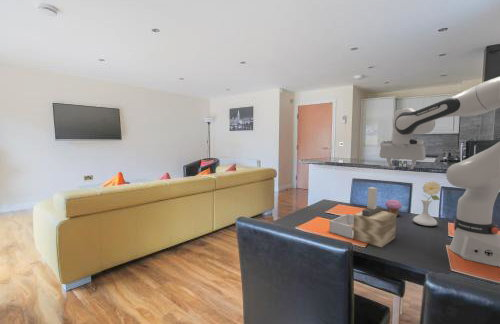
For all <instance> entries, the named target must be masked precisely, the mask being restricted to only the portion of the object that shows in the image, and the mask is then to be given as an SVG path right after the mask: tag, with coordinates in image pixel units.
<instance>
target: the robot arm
mask: <svg viewBox="0 0 500 324" xmlns="http://www.w3.org/2000/svg"><path fill="white" fill-rule="evenodd" d="M497 109H500V76H497V77H494V78H491V79H488V80H486V81H483V82H481V83H479V84H476V85H474V86H472V87H470V88H468V89H466V90H464V91H461V92H459V93H457V94H454V95H453V96H450V97H448V98H446V99H444V100H441V101H438V102H435V103H433V104H431V105H428V106H425V107H423V108H420V109H418V110H415V109H414V108H413V107H410V106H409V107H401V108H399V109H397V110H396V111H395V113H394V114H393V115H394V116H393V122H392V127H393V133H392V137H391V139H392V140H383V141H381V143H380V145H379V146H380V147H379V148H380V150H379V158H380V159H386V162H387V163H388V168H393V167H394V164H393V163H392V162H391V161H392V160H406V161H407V160H409V161H411V162H412V163H411V165H410V164H408V169H409V170H414V166H415V165H416V163H417V161H424V160H425V159H426V156H427V155H426V154H427V153H426V147H425V145H424V144H425V143H424V142H425V141H424V140H423V139H419V138H417V137H414V136H413V135H426V134H428V133H431V132H432V131H433V130H434V129H435V126H436V120H439V119H443V118H449V117H474V116H477V115H478V116H479V115H484V114H486V113H489V112H491V111H492V112H493V111H495V110H497ZM445 173H446V174H445V176H446V180H447V182H448V183H449V184H451V186H453V187H456V188H460V189H461V188H462V189H465V191H464V192H463V194H462V195H461V196H460V197H459V198H458V200H457V207H456V217H454V223H453V228H454V233H453V237H452V240H451V243H450V245H449V247H448V248H449V250H450V251H451V252H452V253H454V254H456V255H458V256H460V257H461V258H462V259H464V260H467V261H471V262H477V263H480V264H484V265H489V266H493V267H497V266H498V267H499V268H500V234H499V233H498V232H499V231H500V230H499V225H498V224H494V223H493V222H492V221H493V212H494V205H495V202H496V200H497V197H498V195H499V194H500V141H498V142H497V143H495V144H494V145H492V146H490V147H488V148H486V149H484V150H482V151H479V152H478V153H476V154H473V155H472V156H470V157H468V158H466V159H464V160H462V161H460V162H456V163H453V164H452V165H450V166H449V167H447V169H446V172H445Z"/></svg>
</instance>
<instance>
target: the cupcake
mask: <svg viewBox="0 0 500 324" xmlns="http://www.w3.org/2000/svg"><path fill="white" fill-rule="evenodd" d="M385 207H387V212H389V213H394V214H396V217H398V216H399V211H400V209H401V208H402V203H401V202H400V200H398V199H389V200H387V201H386V202H385Z"/></svg>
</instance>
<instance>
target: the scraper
mask: <svg viewBox="0 0 500 324" xmlns="http://www.w3.org/2000/svg"><path fill="white" fill-rule="evenodd" d="M377 199H378V187H375V186H371V187H367V203H366V204H367V208H363V209H362V215H363V216H368V217H369V216H371V215H374V214H376V213H378V212H380V211H381V206H379V205H378V204H377V201H378V200H377Z"/></svg>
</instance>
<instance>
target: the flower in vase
mask: <svg viewBox="0 0 500 324" xmlns="http://www.w3.org/2000/svg"><path fill="white" fill-rule="evenodd" d="M441 189H442V188H441V184H439V183H438V182H436V181H434V180H433V181H428V182H425V183H424V184H423V185H422V191H423V193H425V194H423V193H421V195H422V196H423V197H426V198H427V199H426V198H425V199H424V198H422V199H420V201H421V203H422V206H423V209H422V212H421V213H420V214H418V215H415V216H414V217H412V221H413V222H414V223H415V224H418V225H421V226H426V227H428V226H429V227H433V226H436V225H438V222H437V220H436V219H435V218H434V217H433V216H432V215H430V214H429V207H430V204H431V203H432V201H439V200H440V197H439V196H437V194H439V192H440V191H441ZM426 194H427V195H429V197H428V196H427V195H426ZM431 199H432V200H431Z"/></svg>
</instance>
